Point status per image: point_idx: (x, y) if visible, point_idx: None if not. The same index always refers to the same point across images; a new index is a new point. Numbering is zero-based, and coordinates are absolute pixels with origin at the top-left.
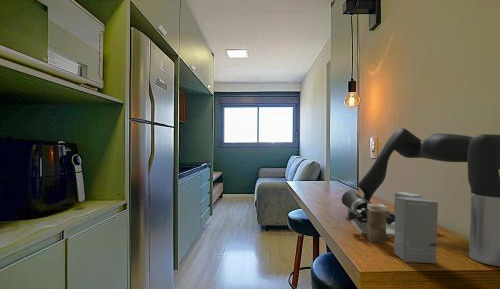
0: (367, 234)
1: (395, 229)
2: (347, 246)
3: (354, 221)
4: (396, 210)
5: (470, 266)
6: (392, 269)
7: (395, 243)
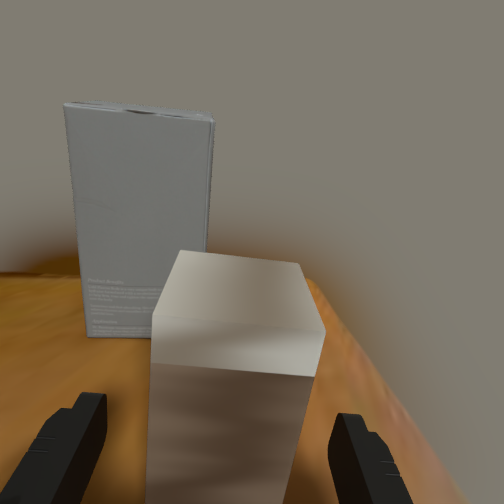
0: None
1: None
2: (366, 391)
3: None
4: (210, 180)
5: (6, 287)
6: None
7: None
